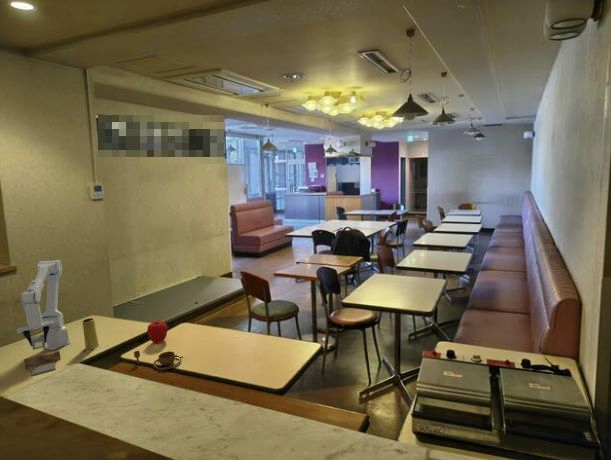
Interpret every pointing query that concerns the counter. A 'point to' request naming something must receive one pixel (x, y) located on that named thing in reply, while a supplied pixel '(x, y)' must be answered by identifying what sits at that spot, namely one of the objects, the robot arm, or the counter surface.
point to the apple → (157, 331)
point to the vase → (90, 333)
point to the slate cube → (38, 341)
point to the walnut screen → (42, 359)
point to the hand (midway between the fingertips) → (38, 343)
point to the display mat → (43, 368)
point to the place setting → (162, 359)
